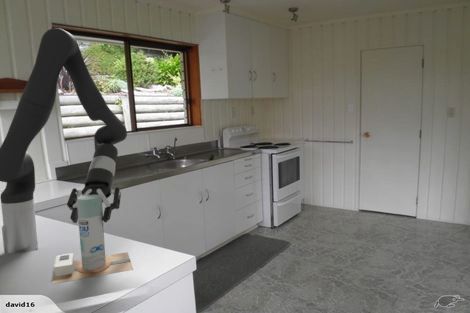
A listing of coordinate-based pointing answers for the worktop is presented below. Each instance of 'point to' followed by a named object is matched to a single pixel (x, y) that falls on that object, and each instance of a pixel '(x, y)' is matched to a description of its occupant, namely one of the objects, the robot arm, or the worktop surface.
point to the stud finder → (64, 264)
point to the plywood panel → (111, 266)
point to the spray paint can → (91, 231)
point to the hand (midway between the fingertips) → (89, 221)
